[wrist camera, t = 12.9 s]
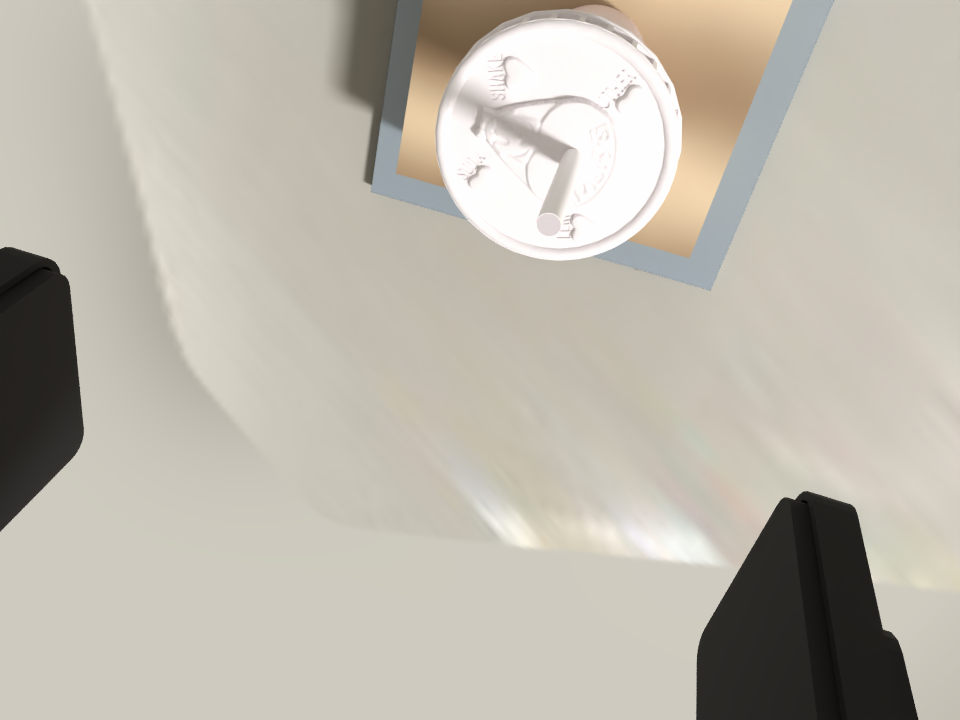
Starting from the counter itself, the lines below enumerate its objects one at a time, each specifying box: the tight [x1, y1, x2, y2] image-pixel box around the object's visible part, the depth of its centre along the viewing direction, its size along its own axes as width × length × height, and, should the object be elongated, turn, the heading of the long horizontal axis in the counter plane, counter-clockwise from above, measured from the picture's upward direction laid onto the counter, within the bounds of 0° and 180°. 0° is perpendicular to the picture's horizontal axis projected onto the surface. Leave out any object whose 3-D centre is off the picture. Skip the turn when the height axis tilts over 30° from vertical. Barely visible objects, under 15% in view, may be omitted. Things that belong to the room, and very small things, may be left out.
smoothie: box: [435, 4, 682, 260], centre depth 23 cm, size 6×6×14 cm
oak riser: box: [396, 0, 793, 258], centre depth 31 cm, size 12×12×4 cm
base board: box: [371, 0, 834, 291], centre depth 33 cm, size 18×16×1 cm
